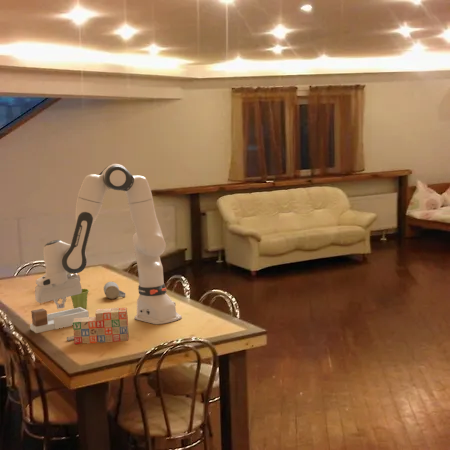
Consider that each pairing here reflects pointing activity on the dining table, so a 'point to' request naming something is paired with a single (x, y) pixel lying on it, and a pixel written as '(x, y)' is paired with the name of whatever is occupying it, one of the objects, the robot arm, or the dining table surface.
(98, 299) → the dining table surface
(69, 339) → the steel rod
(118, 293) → the ceramic mug
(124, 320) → the stack of blocks
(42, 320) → the walnut block
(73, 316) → the channel
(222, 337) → the dining table surface
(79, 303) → the plant pot
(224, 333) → the dining table surface
